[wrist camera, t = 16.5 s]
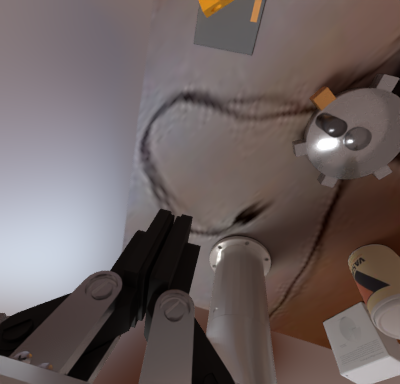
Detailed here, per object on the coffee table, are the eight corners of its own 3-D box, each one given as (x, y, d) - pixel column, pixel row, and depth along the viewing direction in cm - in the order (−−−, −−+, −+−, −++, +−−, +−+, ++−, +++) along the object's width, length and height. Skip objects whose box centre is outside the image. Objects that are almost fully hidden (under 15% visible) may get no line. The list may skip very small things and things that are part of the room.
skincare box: (342, 334, 53) (363, 389, 44) (322, 321, 52) (338, 374, 43) (383, 315, 48) (416, 372, 39) (361, 300, 47) (389, 355, 38)
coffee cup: (345, 240, 41) (381, 298, 30) (406, 239, 39) (466, 301, 28) (340, 277, 45) (369, 339, 34) (394, 277, 43) (443, 344, 32)
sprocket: (295, 186, 36) (306, 210, 30) (288, 94, 30) (299, 100, 24) (406, 171, 32) (444, 193, 26) (423, 61, 26) (477, 57, 20)
